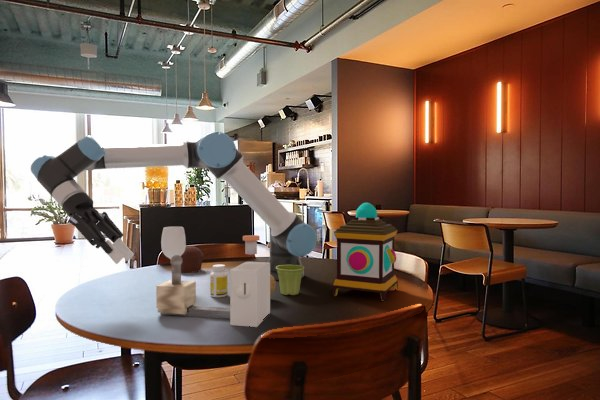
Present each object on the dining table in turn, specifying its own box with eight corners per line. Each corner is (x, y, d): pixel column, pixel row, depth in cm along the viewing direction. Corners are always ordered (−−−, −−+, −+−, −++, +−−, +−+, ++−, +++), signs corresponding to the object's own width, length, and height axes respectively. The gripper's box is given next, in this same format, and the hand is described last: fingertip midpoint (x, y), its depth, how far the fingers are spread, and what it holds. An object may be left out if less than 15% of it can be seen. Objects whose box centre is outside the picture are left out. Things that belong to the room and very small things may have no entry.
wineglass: (179, 291, 137) (178, 228, 137) (155, 290, 139) (155, 228, 139) (191, 285, 146) (190, 226, 145) (168, 284, 148) (168, 225, 147)
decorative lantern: (347, 283, 149) (348, 201, 149) (402, 289, 141) (403, 202, 140) (326, 296, 131) (327, 202, 131) (388, 304, 123) (388, 203, 122)
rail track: (160, 314, 112) (160, 306, 112) (166, 311, 115) (166, 303, 115) (236, 319, 108) (236, 311, 108) (240, 316, 111) (240, 308, 111)
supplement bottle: (230, 294, 134) (230, 264, 133) (222, 298, 129) (222, 267, 128) (215, 293, 135) (215, 263, 135) (207, 297, 130) (206, 266, 130)
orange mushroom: (240, 254, 106) (240, 236, 106) (245, 252, 111) (245, 235, 111) (256, 255, 106) (256, 237, 105) (261, 252, 110) (261, 235, 110)
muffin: (199, 273, 167) (199, 248, 166) (172, 273, 167) (172, 248, 166) (206, 267, 178) (206, 244, 178) (181, 267, 179) (181, 244, 178)
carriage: (156, 313, 110) (156, 256, 110) (169, 305, 117) (169, 252, 117) (183, 315, 109) (183, 257, 108) (195, 307, 116) (195, 253, 115)
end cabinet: (229, 326, 103) (229, 270, 102) (246, 311, 115) (246, 261, 115) (255, 328, 101) (255, 271, 101) (270, 312, 114) (270, 262, 113)
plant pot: (290, 288, 142) (290, 263, 142) (310, 293, 135) (310, 267, 135) (269, 293, 135) (269, 266, 135) (289, 298, 129) (289, 271, 128)
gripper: (86, 207, 128) (135, 262, 125) (41, 210, 111) (96, 274, 108) (101, 190, 127) (150, 245, 124) (58, 191, 110) (113, 254, 107)
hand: (125, 258), depth 116 cm, fingers open, 4 cm apart
